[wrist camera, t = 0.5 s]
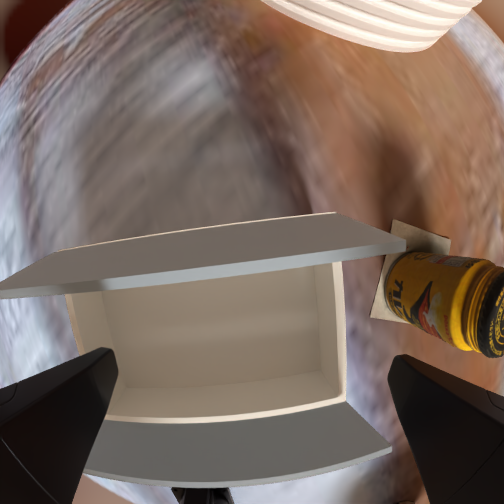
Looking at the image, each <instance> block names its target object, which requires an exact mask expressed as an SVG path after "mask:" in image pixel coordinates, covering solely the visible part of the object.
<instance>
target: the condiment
mask: <svg viewBox="0 0 504 504" xmlns="http://www.w3.org/2000/svg"><path fill="white" fill-rule="evenodd" d="M390 234H393V235H395V236H397V237H400V238H402V239H405V240H406V248H407V247H408V246H409V248H408V249H407V250H406V252H398V253H392V254H386V257H385V262H384V265H383V269H382V272H381V276H380V281H379V285H378V288H377V292H376V295H375V300H374V303H373V307H372V310H371V315H370V317H372V318H378V319H384V320H391V321H397V322H404V323H410V324H412V325H413V326H415V327H418V328H420V329H421V330H424V331H425V332H427V333H429V334H431V335H434V336H435V337H438V338H440V339H442V340H443V341H445V342H447V343H449V344H450V345H452V346H453V347H457V348H459V349H461V350H465V351H467V350H475V351H476V352H481V353H483V354H484V355H485V356H487V357H488V358H498V357H502V356H503V355H504V268H503V267H499V266H496V265H495V264H494V263H492V262H491V261H489V260H485V259H477V258H470V257H458V256H448V254H449V251H450V244H451V240H449V239H447V238H443V237H441V236H438V235H436V234H433V233H430V232H427V231H425V230H422V229H418V228H417V227H414V226H412V225H409V224H406V223H403V222H400V221H398V220H395V219H393V222H392V229H391V233H390Z"/></svg>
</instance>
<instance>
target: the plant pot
mask: <svg viewBox="0 0 504 504" xmlns="http://www.w3.org/2000/svg"><path fill="white" fill-rule="evenodd" d="M398 504H414V503H413V502H411V501H404V502H400V503H398Z"/></svg>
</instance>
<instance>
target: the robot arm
mask: <svg viewBox="0 0 504 504" xmlns="http://www.w3.org/2000/svg"><path fill="white" fill-rule="evenodd" d="M118 373H119V371H118V366H117V362H116V357H115V353H114V351H113V350H112V349H111V348H106V347H99V348H97V349H95V350H93V351H90V352H88V353H86V354H83V355H81V356H79V357H76V358H74V359H72V360H69V361H67V362H65V363H62V364H60V365H58V366H55V367H53V368H51V369H48V370H46V371H43V372H41V373H39V374H36V375H34V376H31V377H29V378H27V379H24V380H22V381H19V382H18V383H14V384H12V385H9V386H7V387H4V388H1V389H0V504H72V501H73V498H74V495H75V492H76V490H77V487H78V484H79V481H80V478H81V475H82V473H83V470H84V468H85V465H86V462H87V460H88V457H89V455H90V452H91V450H92V447H93V445H94V442H95V440H96V437H97V435H98V432H99V430H100V428H101V425H102V423H103V420H104V418H105V416H106V413H107V410H108V407H109V404H110V400H111V397H112V394H113V391H114V387H115V384H116V381H117V378H118ZM388 384H389V387H390V391H391V394H392V397H393V401H394V404H395V408H396V411H397V414H398V417H399V420H400V423H401V425H402V427H403V430H404V432H405V435H406V437H407V440H408V443H409V445H410V448H411V450H412V453H413V456H414V458H415V461H416V464H417V467H418V469H419V472H420V475H421V478H422V481H423V484H424V487H425V490H426V493H427V496H428V499H429V502H430V504H504V397H503V396H501V395H498V394H496V393H493V392H491V391H488V390H485V389H484V388H481V387H479V386H477V385H474V384H472V383H470V382H467V381H465V380H463V379H460V378H458V377H456V376H454V375H451V374H449V373H447V372H445V371H442V370H440V369H438V368H436V367H433V366H431V365H429V364H427V363H425V362H422V361H420V360H418V359H416V358H414V357H411V356H409V355H407V354H403V355H397V356H395V357H394V359H393V362H392V365H391V368H390V371H389V373H388ZM171 490H172V492H173V494H174V495H175V497H176V499H177V501H178V502H179V504H234V502H233V500H232V497H231V494H230V491H229V488H228V487H224V488H182V487H172V488H171Z"/></svg>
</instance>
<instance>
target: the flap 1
mask: <svg viewBox="0 0 504 504" xmlns="http://www.w3.org/2000/svg"><path fill="white" fill-rule="evenodd" d="M404 251H406V240H405V239H402V238H400V237H397V236H395V235H393V234H390V233H388V232H385V231H383V230H380V229H378V228H375V227H373V226H370V225H367V224H365V223H362V222H360V221H357V220H354V219H352V218H349V217H346V216H344V215H341V214H338V213H331V214H321V215H311V216H302V217H293V218H284V219H275V220H267V221H258V222H250V223H242V224H234V225H226V226H218V227H211V228H203V229H196V230H189V231H182V232H175V233H168V234H161V235H154V236H148V237H141V238H135V239H128V240H122V241H116V242H110V243H104V244H98V245H92V246H86V247H80V248H75V249H69V250H64V251H58V252H54V253H52V254H50V255H48V256H46V257H44V258H43V259H41V260H39V261H37V262H35V263H33V264H31V265H30V266H28V267H26V268H24V269H22V270H21V271H19V272H17V273H15V274H13V275H12V276H10V277H8V278H7V279H5V280H3V281H1V282H0V299H12V298H25V297H38V296H50V295H62V294H74V293H85V292H95V291H106V290H116V289H126V288H135V287H145V286H154V285H163V284H172V283H181V282H189V281H198V280H206V279H214V278H222V277H230V276H238V275H246V274H254V273H262V272H269V271H277V270H284V269H291V268H298V267H305V266H313V265H320V264H326V263H333V262H340V261H347V260H353V259H360V258H366V257H373V256H379V255H385V254H392V253H398V252H404Z"/></svg>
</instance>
